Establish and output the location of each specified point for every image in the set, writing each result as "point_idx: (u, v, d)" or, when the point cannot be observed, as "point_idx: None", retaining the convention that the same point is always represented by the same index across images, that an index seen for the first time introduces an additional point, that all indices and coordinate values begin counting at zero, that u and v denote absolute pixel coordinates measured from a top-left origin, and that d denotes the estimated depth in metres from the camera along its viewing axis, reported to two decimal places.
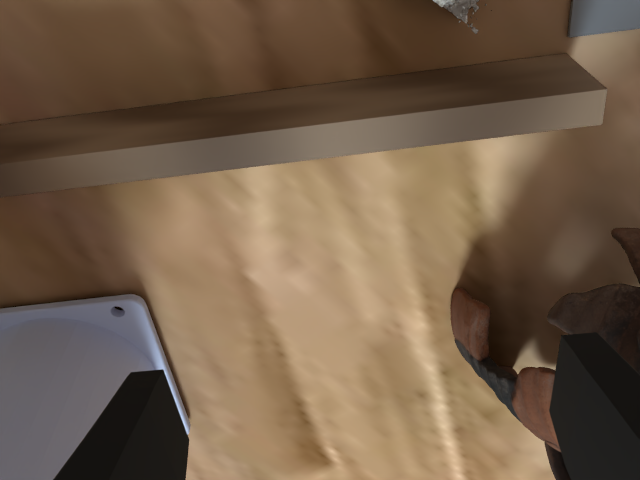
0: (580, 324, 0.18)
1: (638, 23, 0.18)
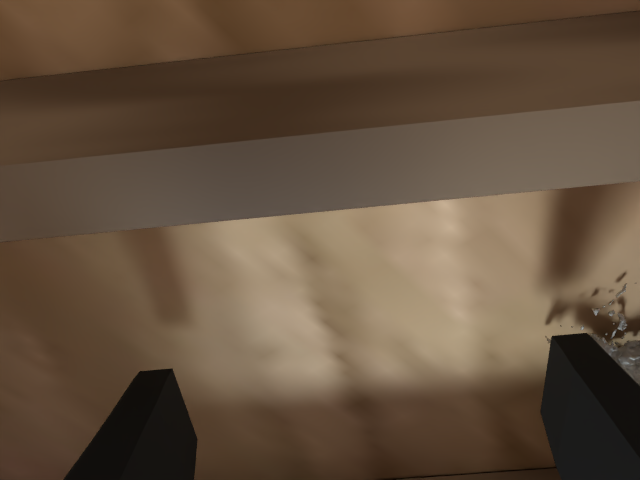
0: None
1: None
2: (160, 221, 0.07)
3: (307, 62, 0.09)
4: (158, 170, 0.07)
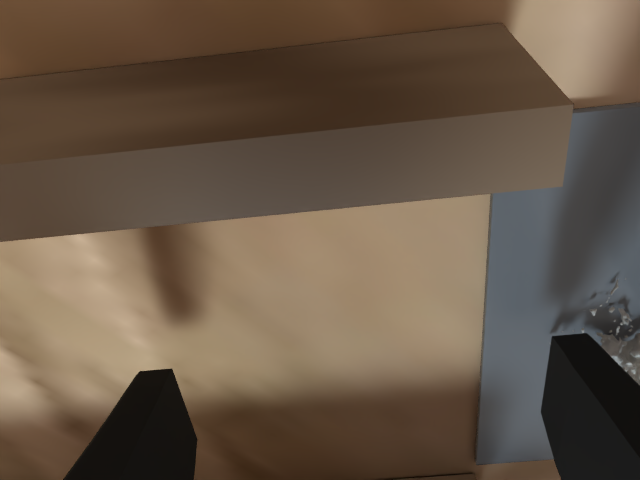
0: None
1: None
2: None
3: None
4: None
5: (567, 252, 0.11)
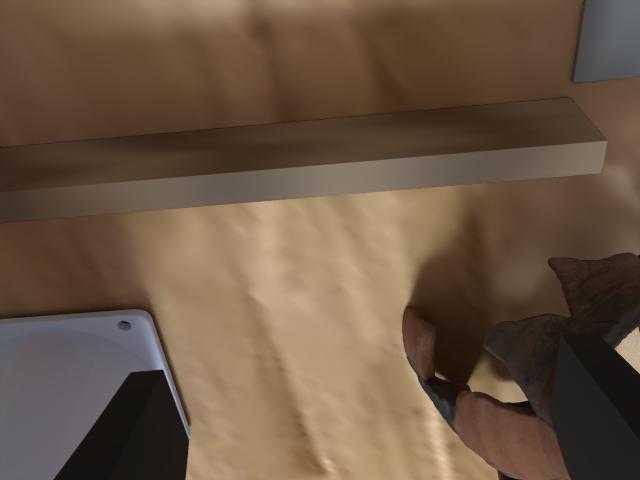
0: (511, 352, 0.19)
1: None
2: None
3: None
4: None
5: None
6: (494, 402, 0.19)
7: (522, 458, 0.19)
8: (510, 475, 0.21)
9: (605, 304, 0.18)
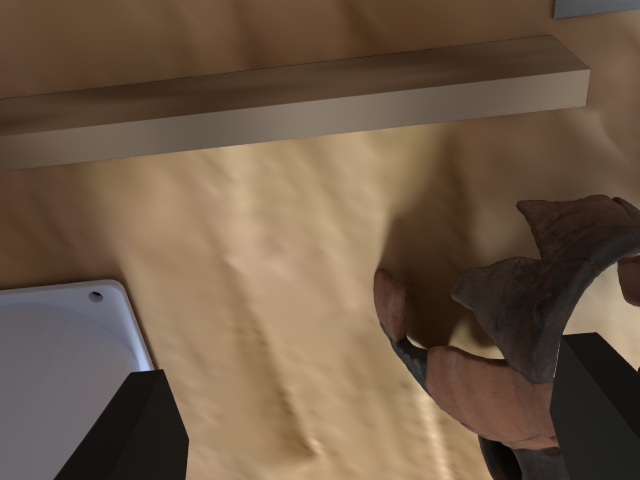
0: (480, 299, 0.18)
1: (624, 5, 0.18)
2: None
3: None
4: None
5: None
6: (464, 354, 0.18)
7: (497, 414, 0.18)
8: (487, 436, 0.20)
9: (576, 243, 0.17)
